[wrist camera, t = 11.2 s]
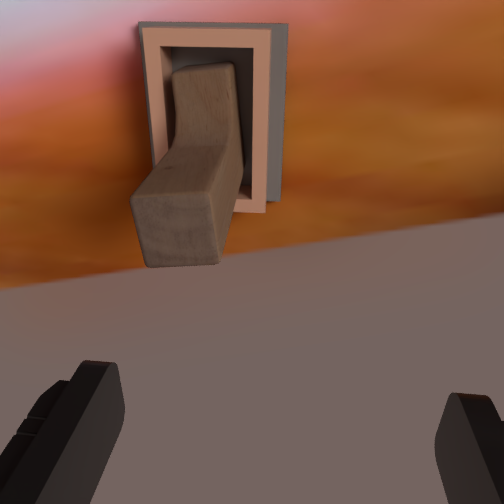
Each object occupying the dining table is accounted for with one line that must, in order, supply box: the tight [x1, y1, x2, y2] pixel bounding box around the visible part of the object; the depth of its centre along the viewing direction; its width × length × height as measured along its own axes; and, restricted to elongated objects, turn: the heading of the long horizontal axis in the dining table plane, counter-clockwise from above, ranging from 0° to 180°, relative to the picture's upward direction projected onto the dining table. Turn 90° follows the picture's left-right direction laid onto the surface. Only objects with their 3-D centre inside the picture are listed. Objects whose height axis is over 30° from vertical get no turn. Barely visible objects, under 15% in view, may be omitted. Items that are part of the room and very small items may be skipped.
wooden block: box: [129, 61, 246, 268], centre depth 30 cm, size 9×4×18 cm, turn 5°
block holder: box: [138, 21, 288, 213], centre depth 37 cm, size 12×15×4 cm
